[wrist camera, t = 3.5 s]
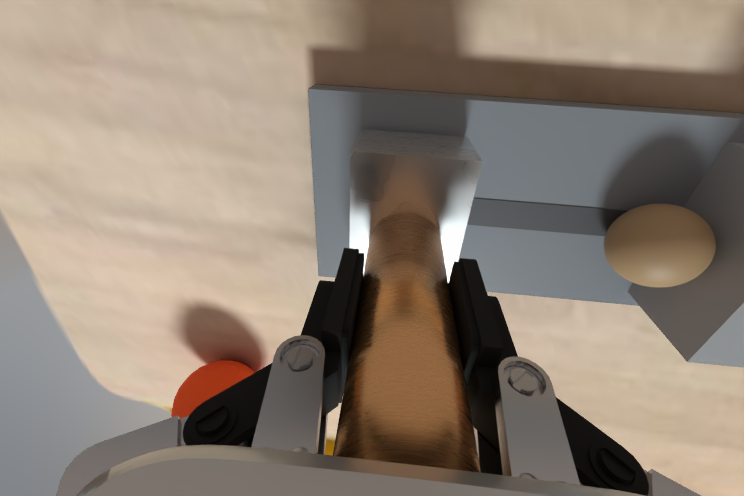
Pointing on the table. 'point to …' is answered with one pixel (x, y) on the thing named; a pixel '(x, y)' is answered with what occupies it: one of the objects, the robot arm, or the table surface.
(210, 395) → the clementine
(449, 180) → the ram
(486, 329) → the robot arm
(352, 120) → the frame
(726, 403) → the table surface
